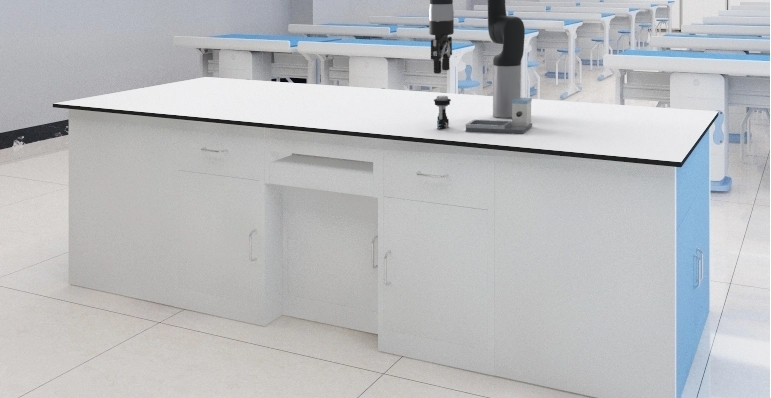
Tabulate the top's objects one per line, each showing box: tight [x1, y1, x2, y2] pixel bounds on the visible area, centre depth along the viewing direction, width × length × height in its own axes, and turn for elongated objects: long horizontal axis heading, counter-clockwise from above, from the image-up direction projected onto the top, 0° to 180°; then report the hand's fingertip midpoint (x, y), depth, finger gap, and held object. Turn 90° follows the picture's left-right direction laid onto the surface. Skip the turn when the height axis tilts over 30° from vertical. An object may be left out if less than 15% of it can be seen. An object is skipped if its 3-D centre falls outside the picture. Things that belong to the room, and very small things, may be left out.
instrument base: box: [465, 97, 533, 135], centre depth 290 cm, size 13×18×9 cm
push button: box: [433, 95, 452, 130], centre depth 294 cm, size 7×5×10 cm
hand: (441, 71), depth 291 cm, fingers open, 8 cm apart
